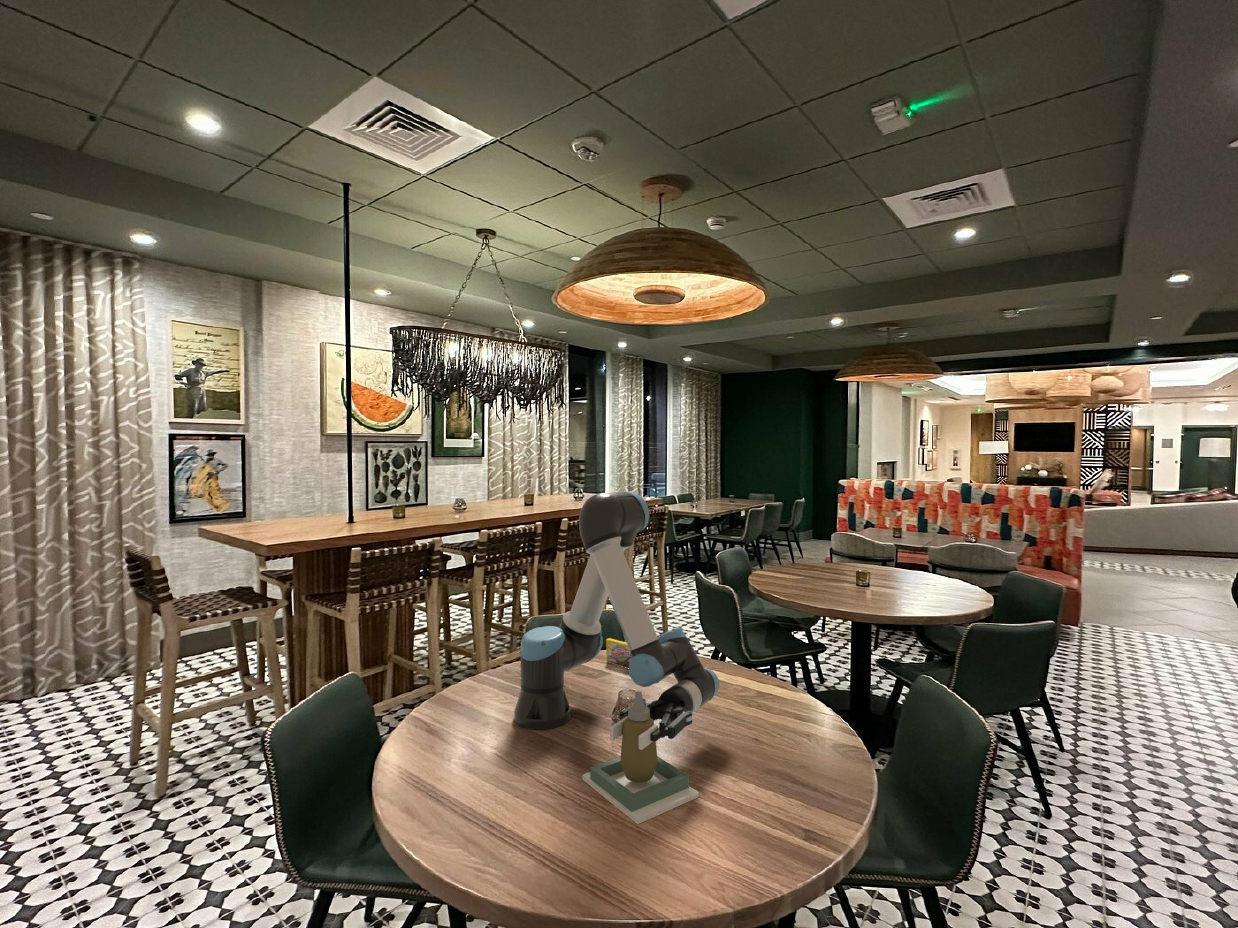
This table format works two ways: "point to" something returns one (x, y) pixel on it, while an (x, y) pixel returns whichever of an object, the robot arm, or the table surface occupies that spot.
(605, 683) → the table surface
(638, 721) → the squeeze bottle
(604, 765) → the collar stand
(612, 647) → the candy box
